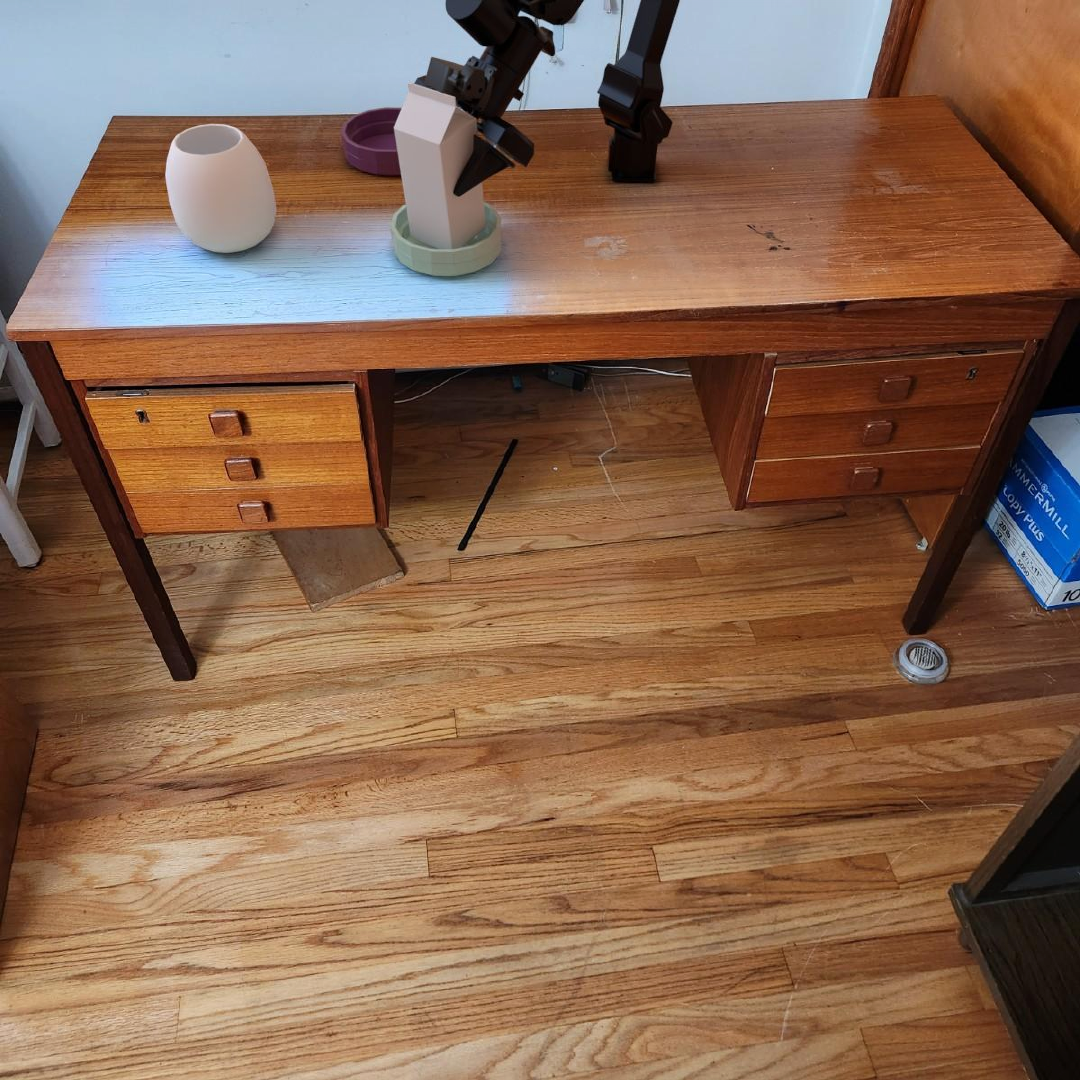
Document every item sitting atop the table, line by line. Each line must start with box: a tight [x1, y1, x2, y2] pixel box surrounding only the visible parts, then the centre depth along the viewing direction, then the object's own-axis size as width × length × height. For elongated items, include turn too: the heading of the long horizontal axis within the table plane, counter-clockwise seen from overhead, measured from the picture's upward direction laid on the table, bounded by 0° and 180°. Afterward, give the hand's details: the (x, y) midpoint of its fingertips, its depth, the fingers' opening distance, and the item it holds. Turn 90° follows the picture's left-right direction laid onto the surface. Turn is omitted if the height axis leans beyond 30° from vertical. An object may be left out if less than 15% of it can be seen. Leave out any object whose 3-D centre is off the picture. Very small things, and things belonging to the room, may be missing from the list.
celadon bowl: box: [390, 201, 502, 277], centre depth 126 cm, size 14×14×4 cm
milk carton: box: [394, 81, 486, 249], centre depth 118 cm, size 7×7×19 cm
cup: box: [164, 123, 278, 254], centre depth 123 cm, size 13×13×14 cm
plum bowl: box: [340, 106, 402, 177], centre depth 143 cm, size 14×14×4 cm
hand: (435, 181), depth 119 cm, fingers closed on milk carton, 8 cm apart
